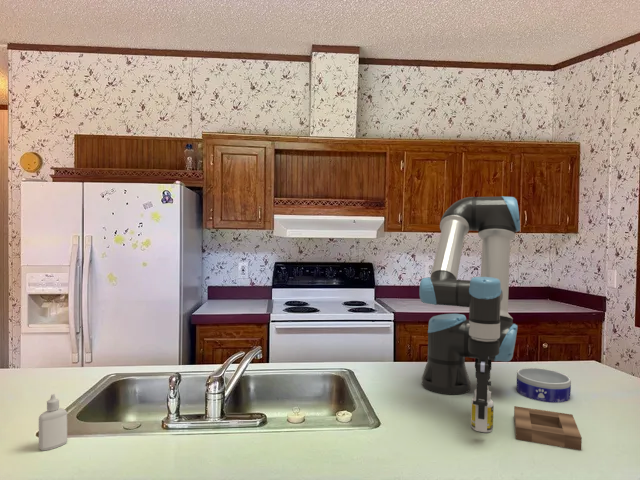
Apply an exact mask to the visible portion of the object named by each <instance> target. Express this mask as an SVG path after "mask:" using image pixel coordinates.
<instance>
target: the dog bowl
mask: <svg viewBox="0 0 640 480" xmlns="http://www.w3.org/2000/svg"><path fill="white" fill-rule="evenodd" d="M571 389H572V379H571V377H569V375H567V374H565V373H563V372H560V371H557V370H554V369H549V368H542V367H522V368H519V369H518V370H516V391H517V392H518V393H519V394H520V395H521V396H523V397H525V398H528V399H531V400H534V401H539V402H543V403H557V404H558V403H564V402H567V401H569V400H570V399H571V391H572V390H571Z"/></svg>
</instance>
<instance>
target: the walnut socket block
mask: <svg viewBox="0 0 640 480" xmlns="http://www.w3.org/2000/svg"><path fill="white" fill-rule="evenodd" d="M513 409H514V410H513V413H514V414H513V419H514V420H513V421H514V431H515V440H520V441H525V442H530V443H537V444H540V445H541V444H543V445H549V446H554V447H560V448H565V449H571V450H578V451H582V444H583V441H582V434H581V432H580V430H579V427H578V425H577V423H576V420H575V418H574V415H573V414H571V413H564V412H558V411H557V412H556V411H552V410H551V411H550V410H543V409H535V408H529V407H523V406H517V405H515V406H513Z"/></svg>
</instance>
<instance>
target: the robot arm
mask: <svg viewBox="0 0 640 480" xmlns="http://www.w3.org/2000/svg"><path fill="white" fill-rule="evenodd" d="M519 209H520V208H519V205H518V200H517V198H516V197H514V196H503V195H502V196H468V197H464V198H460V199H459V200H457V201H455V202H454V203H452V204H451V205H450V207H448V208H447V209H446V210H445V212H444V213H443V214H442V217H441V220H440V223H439V230H440V232H441V233H440V236H439V240H438V244H437V248H436V253H435V256H434V261H433V264H432V265H433V266H432V269H431V273H430V277H423V278H422V279H421V280H420V283H419V290H418V291H419V294H418V295H419V299H420V301H421V302H422V303H424V304H426V305H427V304H429V305H435V306H437V305H438V306H450V307H460V308H461V307H463V308H469V310H468V313H469V314H468V319H467V317H466V315H465V314H460V313H444V314H443V313H442V314H438V315H433V316H432V317H431V318H429V321H428V328H427V329H428V330H427V362H426V365H425V368H424V370H423V373H422V375H421V386H422V387H423V388H425V389H426V390H428V391H430V392H434V393H437V394H442V395H462V394H465V393H468V392H469V391H470V390H471V381H470V380H471V379H470V377H469V375H468V371H467V367H466V363H465V362H466V358H471V359H475V360H474V368H475V378H476V389H477V391H476V401H473V404H475V405H476V413H475V430H474V431H476V432H479V431H482V432H481V433H488V432H487V409H488V403H487V390H489V391H490V388H489V387H490V386H491V387H492V381H490V379H491V370H492V362H503V363H506V362H507V363H508V362H511V360H512V359H513V357H514V352H515V346H516V340H517V333H518V327H519V326H518V324H516V323H514V321H513V320H514V318H513V317H512V316H511V315H510V314H509V288H510V287H509V285H510V256H511V254H510V252H511V251H510V250H511V241H512V240H514V238H516V233H518V232H520V231H521V220H520V211H519ZM469 231H475V232H477V236H478V237H479V238H480V239H481V240H482V243H481V263H480V276H474V277H472V278H471V279H469V280H468V279H458V275H459V269H460V264H461V260H462V259H461V258H462V252H463V248H464V241H465V237H466V235H467V234H468V233H469ZM479 399H482V400H479ZM483 400H485V401H483Z"/></svg>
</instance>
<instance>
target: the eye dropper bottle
mask: <svg viewBox="0 0 640 480" xmlns="http://www.w3.org/2000/svg"><path fill="white" fill-rule="evenodd" d="M67 443H68V412H67V410H66V409H65V408H61V407H60V399H59V398H57V397H56V394H55V393H52V394H51V395H50V398H49V399H48V400H47V401H46V410H45V411H44V412H42V413H41V414H39V417H38V448H39V449H40V451H49V450H54V449H57V448H59V447H62V446H64V445H66V444H67Z"/></svg>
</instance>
